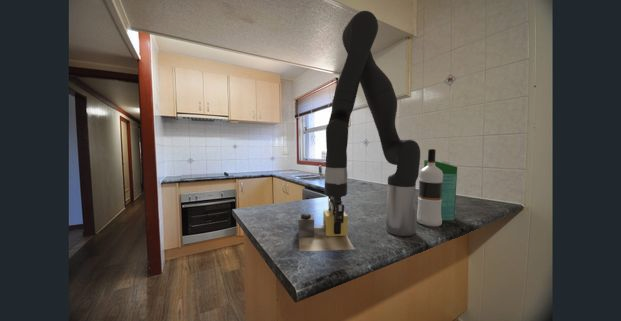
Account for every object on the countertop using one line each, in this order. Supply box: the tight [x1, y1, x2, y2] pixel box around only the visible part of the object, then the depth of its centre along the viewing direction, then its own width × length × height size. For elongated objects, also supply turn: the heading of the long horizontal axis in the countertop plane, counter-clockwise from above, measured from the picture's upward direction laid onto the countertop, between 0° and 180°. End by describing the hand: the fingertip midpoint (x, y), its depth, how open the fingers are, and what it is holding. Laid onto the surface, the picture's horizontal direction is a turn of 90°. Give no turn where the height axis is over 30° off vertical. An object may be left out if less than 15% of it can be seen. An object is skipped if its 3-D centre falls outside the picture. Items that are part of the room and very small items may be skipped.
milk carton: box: [423, 159, 458, 221], centre depth 91 cm, size 9×9×25 cm
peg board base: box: [297, 212, 356, 252], centre depth 67 cm, size 16×16×8 cm
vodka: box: [417, 148, 443, 228], centre depth 83 cm, size 9×9×30 cm
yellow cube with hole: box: [322, 209, 349, 236], centre depth 70 cm, size 7×6×7 cm
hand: (335, 229), depth 70 cm, fingers closed on yellow cube with hole, 6 cm apart
